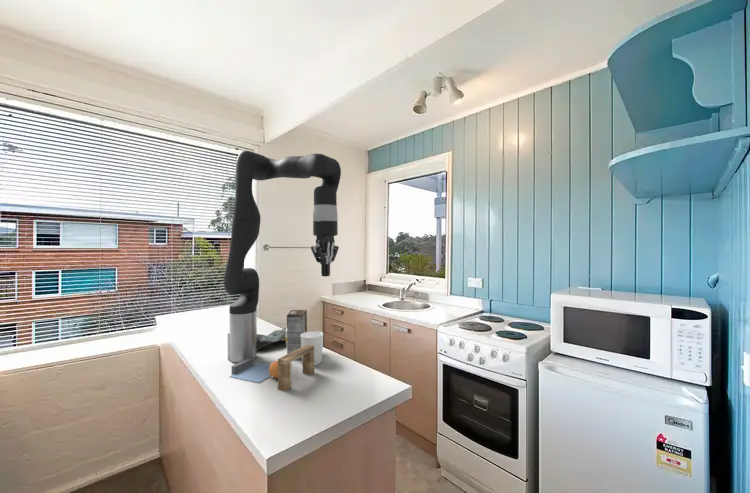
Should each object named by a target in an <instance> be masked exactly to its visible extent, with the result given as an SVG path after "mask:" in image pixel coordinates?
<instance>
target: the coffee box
mask: <svg viewBox="0 0 750 493" xmlns="http://www.w3.org/2000/svg"><path fill="white" fill-rule="evenodd" d="M307 312H308V311H307V309H291V310H290V311H289V312H288V313H287V314H286V328H287V347H286V355H287V354H289V353H291V352H293V351H295V350H297V349H299V348H301V334H302V333H305V332H308V319H307V318H308V317H307V315H308V313H307ZM298 359H302V356H301V357H299V358H298Z"/></svg>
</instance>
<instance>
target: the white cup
mask: <svg viewBox="0 0 750 493" xmlns="http://www.w3.org/2000/svg"><path fill="white" fill-rule="evenodd" d="M323 341H324V333H323V331H314V330H312V331H311V330H310V331H307V332H305V333H302V334H301V347H302V346H304V345H313V346H314V366H317V365H320V364H321V363H322V360H323V358H322V357H323V348H324V347H323V345H324V344H323V343H324V342H323ZM301 359H302V363H303V356H302V358H301Z"/></svg>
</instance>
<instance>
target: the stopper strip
mask: <svg viewBox="0 0 750 493" xmlns="http://www.w3.org/2000/svg"><path fill="white" fill-rule="evenodd" d="M254 360H255V359H254V358H249V359H247V360H244V361H242V362H237V363H236V364H234V365H232V366H231V375H233V374H236V373H238V372H240V371H242V370H244V369H246V368H248V367H251V366H253V365H254V364H255V362H254Z"/></svg>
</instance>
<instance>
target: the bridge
mask: <svg viewBox="0 0 750 493" xmlns="http://www.w3.org/2000/svg"><path fill="white" fill-rule="evenodd" d="M301 356H303V362H302V374H306V375H312V374H313V373H315V365H314V346H313V345H304V346H302V347H301V348H299V349H297V350H295V351H293V352H291V353H289V354H287V353H286V354H285V355H283V356H281V357H279V358H278V359H277V361H278V378H277V390H280V391H283V392H284V391H285V392H288V391H289V390H290V389H292V373H291V372H292V369H291V368H292V366H291V365H292V362H294V361H296V360H298V359H300V358H299V357H301Z"/></svg>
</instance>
